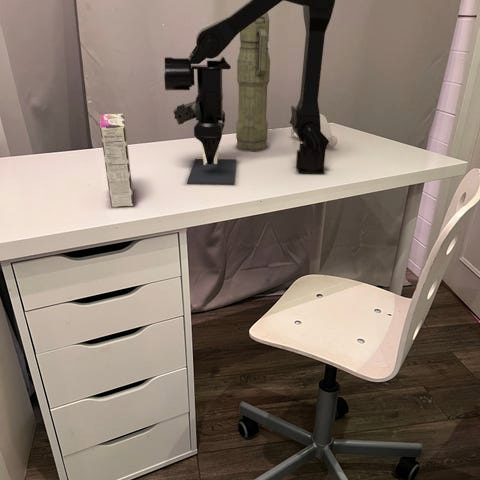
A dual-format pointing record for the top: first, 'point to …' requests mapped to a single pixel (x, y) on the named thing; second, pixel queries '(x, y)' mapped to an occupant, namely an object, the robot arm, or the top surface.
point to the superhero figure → (324, 131)
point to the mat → (213, 173)
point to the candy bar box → (116, 160)
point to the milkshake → (214, 165)
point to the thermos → (253, 85)
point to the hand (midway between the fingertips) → (211, 158)
